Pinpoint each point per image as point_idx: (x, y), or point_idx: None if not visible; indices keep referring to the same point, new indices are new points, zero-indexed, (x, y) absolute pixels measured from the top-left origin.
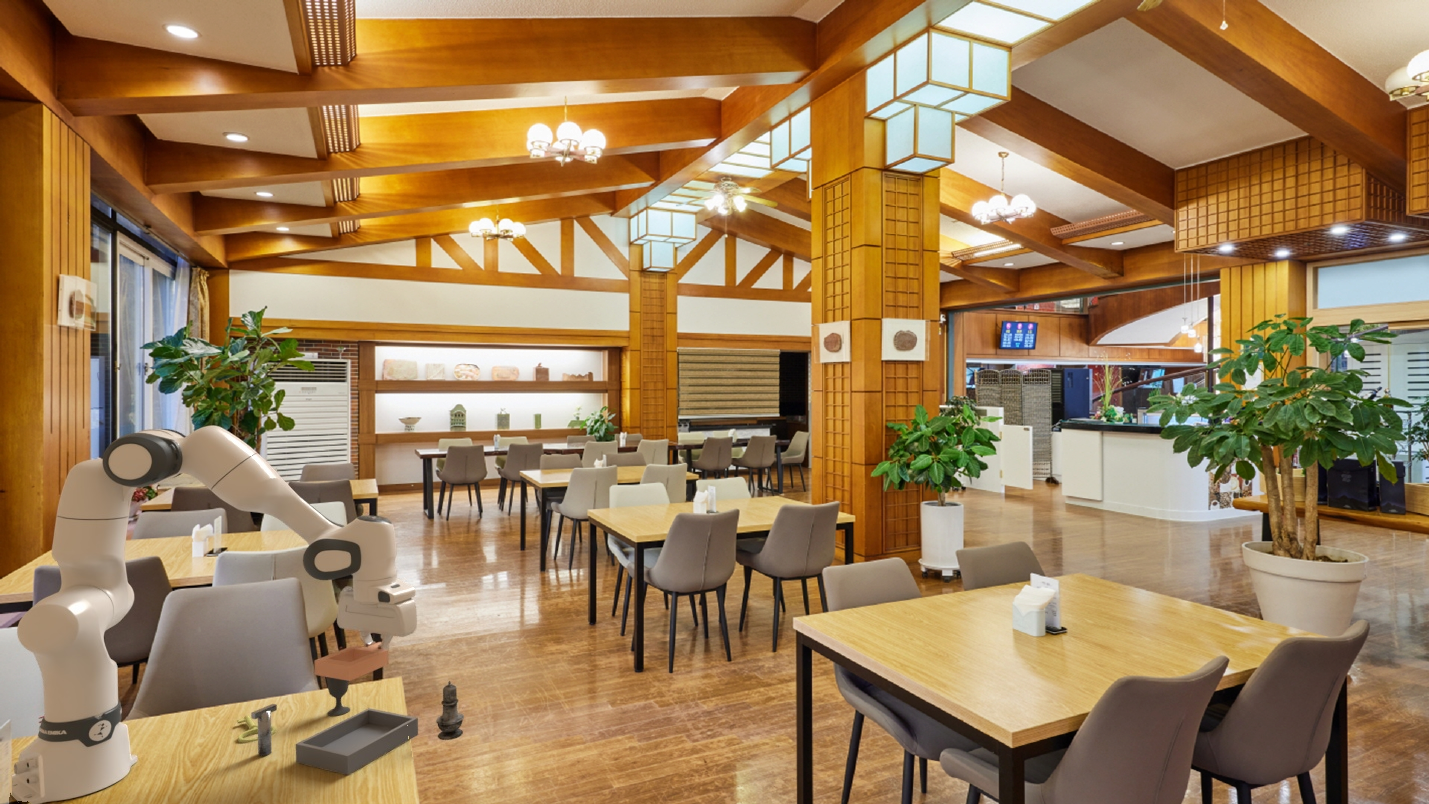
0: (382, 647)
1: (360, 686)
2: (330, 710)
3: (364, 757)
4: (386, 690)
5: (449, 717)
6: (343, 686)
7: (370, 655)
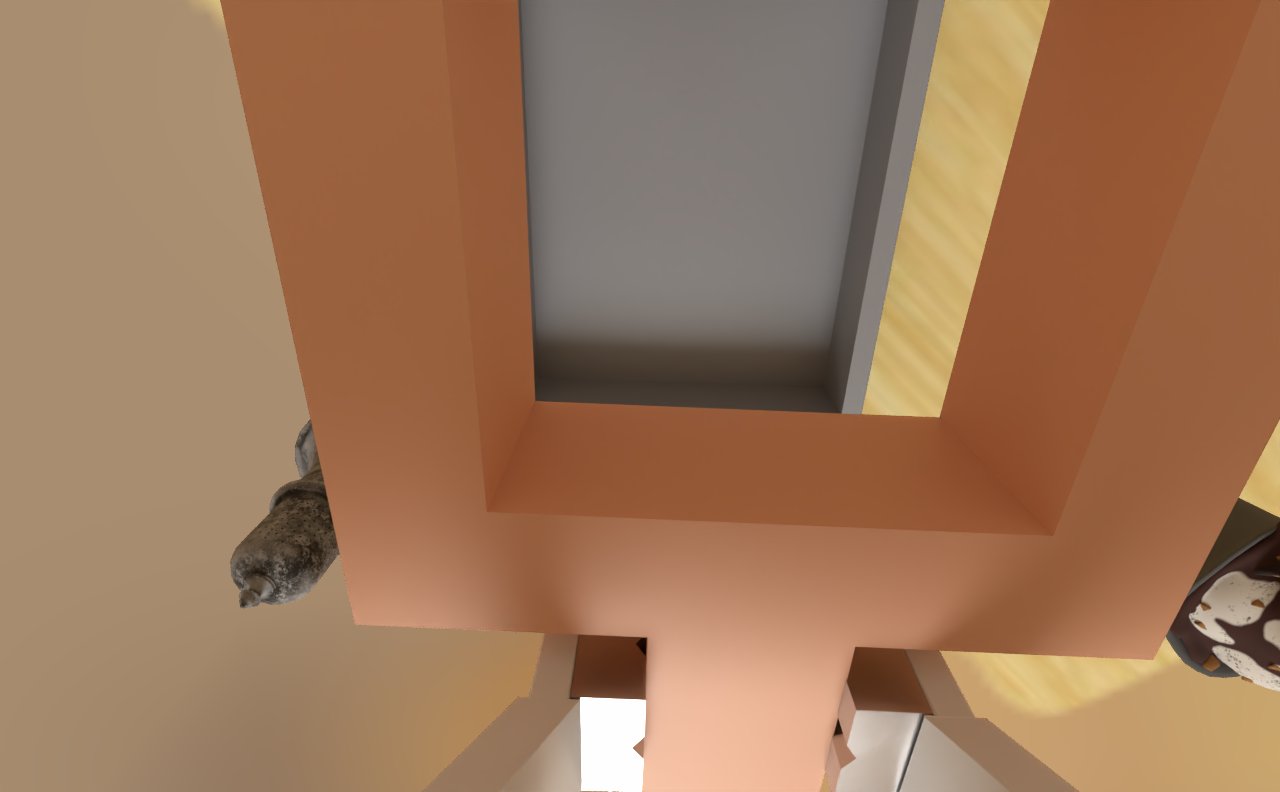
0: (535, 675)
1: (1146, 664)
2: None
3: None
4: (995, 662)
5: None
6: None
7: (396, 343)
